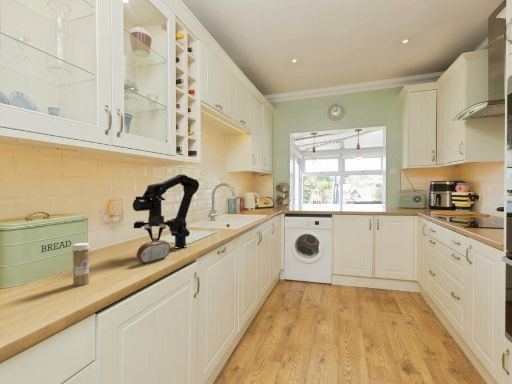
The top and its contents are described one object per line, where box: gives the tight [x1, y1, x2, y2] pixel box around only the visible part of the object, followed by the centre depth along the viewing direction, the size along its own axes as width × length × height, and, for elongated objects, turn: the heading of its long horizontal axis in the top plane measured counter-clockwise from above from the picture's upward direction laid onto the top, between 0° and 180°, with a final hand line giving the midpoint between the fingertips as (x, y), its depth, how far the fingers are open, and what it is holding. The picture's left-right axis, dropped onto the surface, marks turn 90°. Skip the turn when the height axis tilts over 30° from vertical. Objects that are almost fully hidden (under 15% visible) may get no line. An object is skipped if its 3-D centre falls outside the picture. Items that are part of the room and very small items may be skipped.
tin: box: [136, 240, 171, 264], centre depth 111 cm, size 15×3×8 cm, turn 145°
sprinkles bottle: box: [72, 242, 90, 287], centre depth 84 cm, size 5×5×14 cm
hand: (155, 241), depth 124 cm, fingers closed on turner, 2 cm apart
